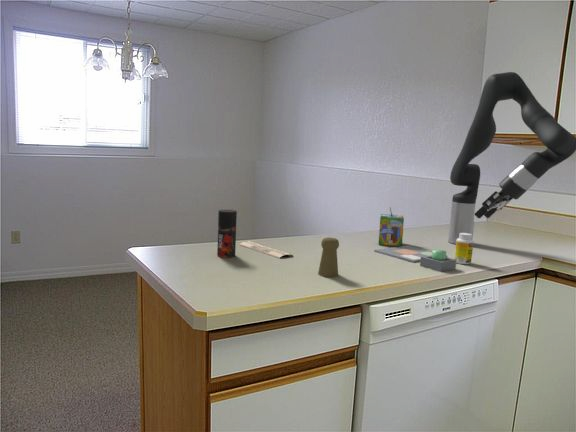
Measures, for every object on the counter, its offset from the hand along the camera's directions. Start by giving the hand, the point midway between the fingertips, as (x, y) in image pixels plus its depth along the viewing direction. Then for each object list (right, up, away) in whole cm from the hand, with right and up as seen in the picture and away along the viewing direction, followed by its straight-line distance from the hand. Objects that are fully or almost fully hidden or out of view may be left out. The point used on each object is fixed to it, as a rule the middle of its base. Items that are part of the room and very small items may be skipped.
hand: (481, 216), depth 158 cm
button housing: (-16, -17, -3) cm, 23 cm away
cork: (-53, -17, -18) cm, 59 cm away
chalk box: (-24, -11, +31) cm, 41 cm away
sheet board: (-20, -14, +14) cm, 28 cm away
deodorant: (-85, -13, -2) cm, 86 cm away
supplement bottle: (-4, -16, +5) cm, 18 cm away
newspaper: (-73, -13, +9) cm, 75 cm away
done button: (-16, -15, -3) cm, 22 cm away
